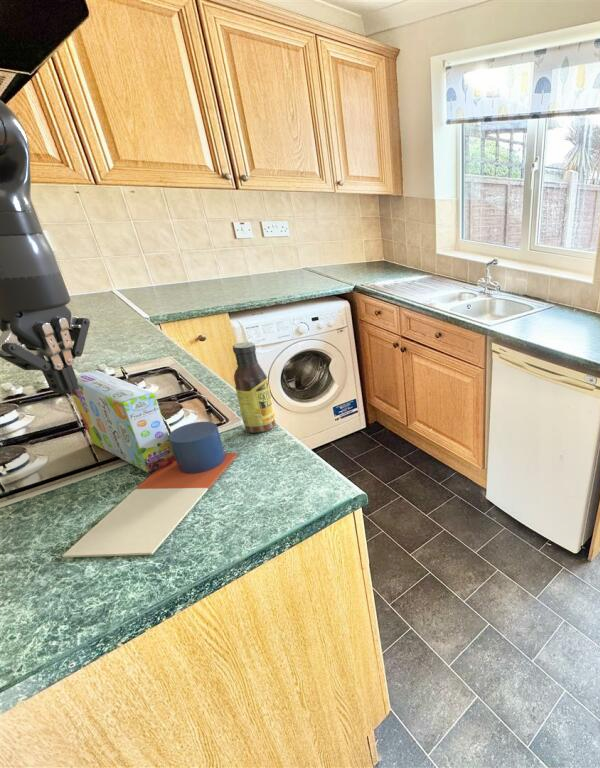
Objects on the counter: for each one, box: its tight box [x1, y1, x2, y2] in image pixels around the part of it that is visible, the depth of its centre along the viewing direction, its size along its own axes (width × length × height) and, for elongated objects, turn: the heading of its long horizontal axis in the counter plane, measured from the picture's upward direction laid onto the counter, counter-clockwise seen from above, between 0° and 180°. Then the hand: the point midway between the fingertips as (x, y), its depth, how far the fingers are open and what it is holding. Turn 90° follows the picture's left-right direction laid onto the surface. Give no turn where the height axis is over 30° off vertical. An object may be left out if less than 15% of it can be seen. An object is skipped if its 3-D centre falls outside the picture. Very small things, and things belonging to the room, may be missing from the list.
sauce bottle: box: [232, 341, 276, 434], centre depth 92 cm, size 6×6×20 cm
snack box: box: [70, 369, 176, 474], centre depth 81 cm, size 21×6×15 cm, turn 64°
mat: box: [61, 452, 238, 559], centre depth 73 cm, size 12×26×1 cm, turn 6°
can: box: [168, 421, 226, 474], centre depth 81 cm, size 8×8×7 cm
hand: (66, 390), depth 61 cm, fingers closed
